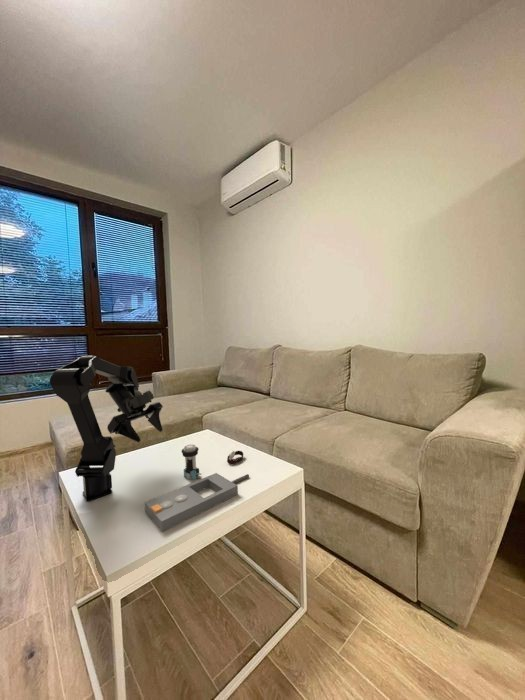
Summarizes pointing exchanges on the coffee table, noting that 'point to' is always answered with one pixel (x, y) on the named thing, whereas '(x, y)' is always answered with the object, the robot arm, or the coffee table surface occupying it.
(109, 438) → the robot arm
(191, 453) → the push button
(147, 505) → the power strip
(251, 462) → the coffee table surface
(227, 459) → the watch
